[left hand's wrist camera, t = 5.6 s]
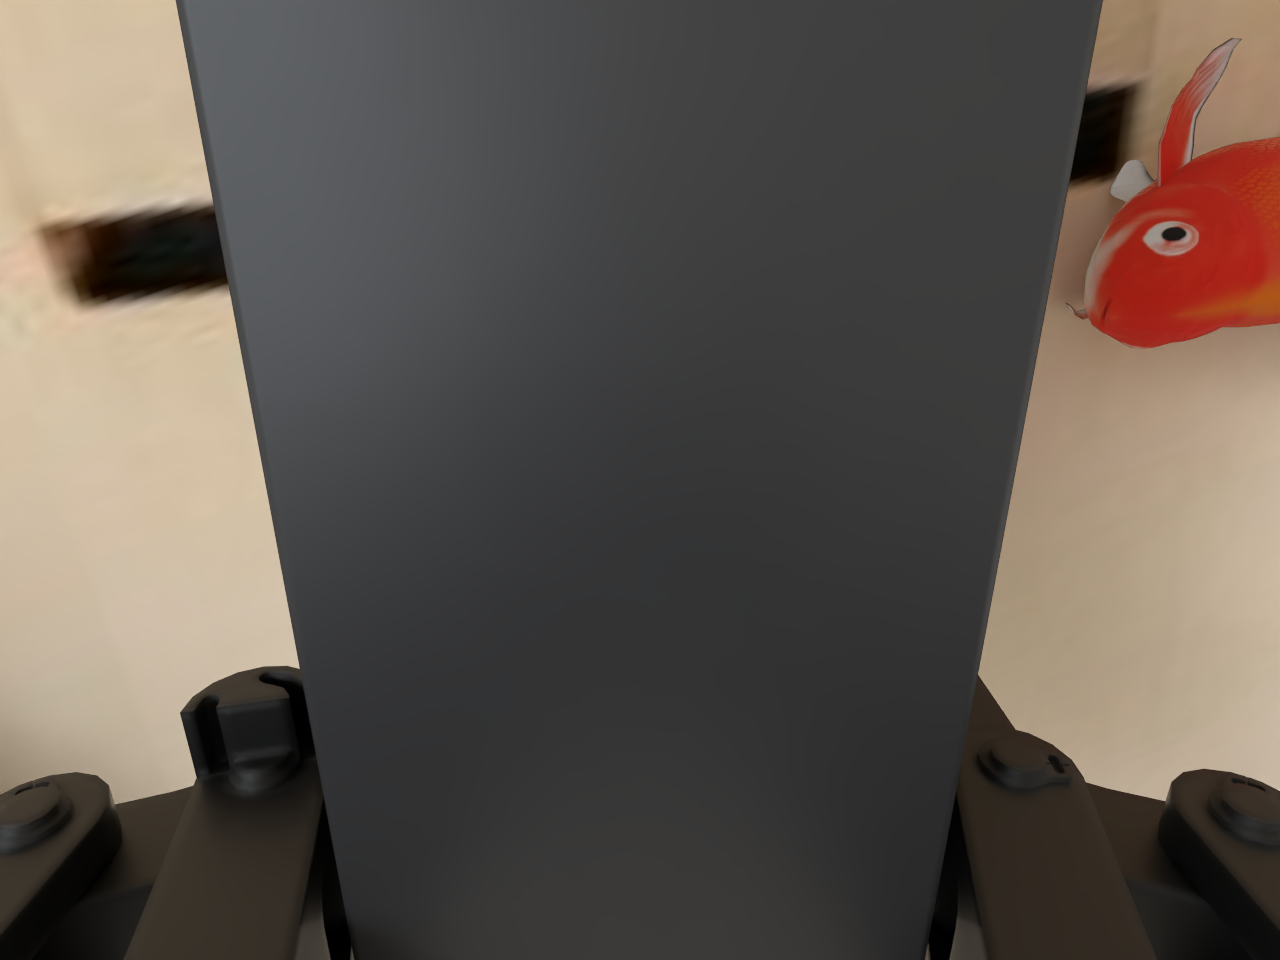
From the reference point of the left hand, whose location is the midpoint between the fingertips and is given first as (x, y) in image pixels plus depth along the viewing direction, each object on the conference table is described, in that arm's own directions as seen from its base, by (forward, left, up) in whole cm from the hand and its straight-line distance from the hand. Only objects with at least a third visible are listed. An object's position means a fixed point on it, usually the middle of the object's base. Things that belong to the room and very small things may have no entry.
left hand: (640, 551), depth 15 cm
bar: (+11, +6, -1) cm, 13 cm away
